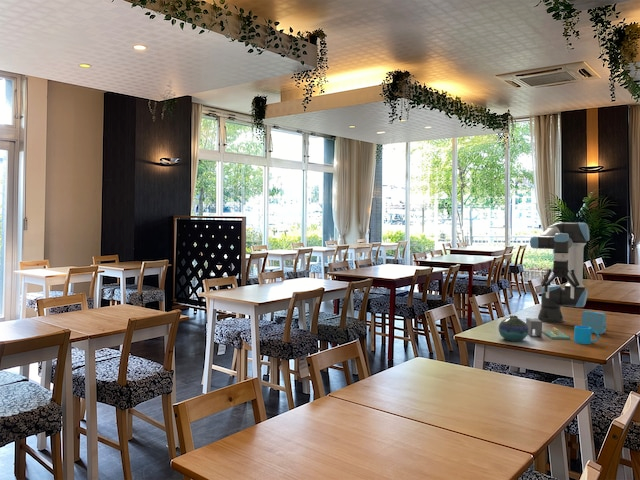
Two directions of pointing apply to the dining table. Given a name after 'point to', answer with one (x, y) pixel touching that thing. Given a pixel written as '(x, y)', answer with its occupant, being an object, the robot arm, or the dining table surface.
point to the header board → (548, 333)
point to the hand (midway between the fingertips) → (559, 298)
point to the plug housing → (534, 326)
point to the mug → (584, 335)
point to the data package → (594, 321)
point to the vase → (513, 329)
